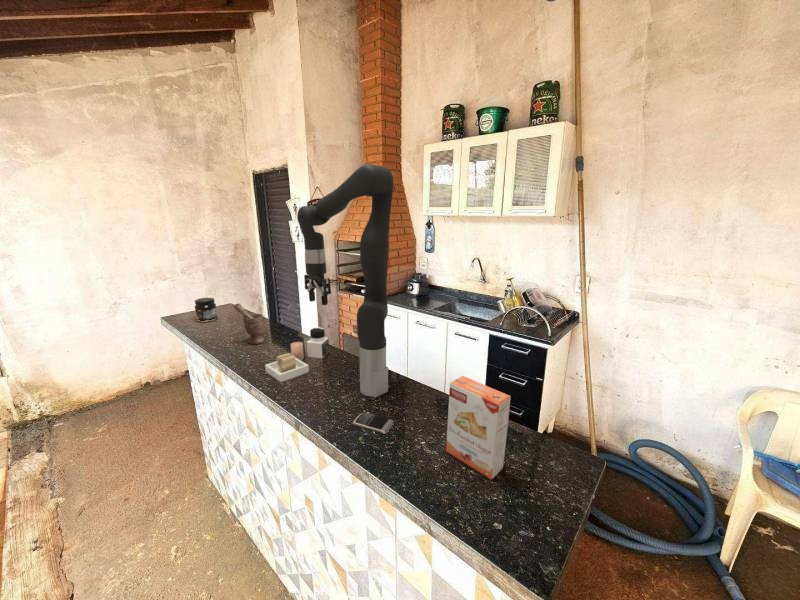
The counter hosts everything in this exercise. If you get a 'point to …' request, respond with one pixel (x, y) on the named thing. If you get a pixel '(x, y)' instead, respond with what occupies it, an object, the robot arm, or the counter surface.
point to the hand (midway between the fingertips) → (318, 302)
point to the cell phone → (373, 422)
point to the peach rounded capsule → (297, 350)
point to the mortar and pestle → (252, 325)
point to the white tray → (281, 377)
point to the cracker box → (477, 425)
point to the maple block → (286, 362)
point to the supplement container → (205, 309)
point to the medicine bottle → (317, 343)
